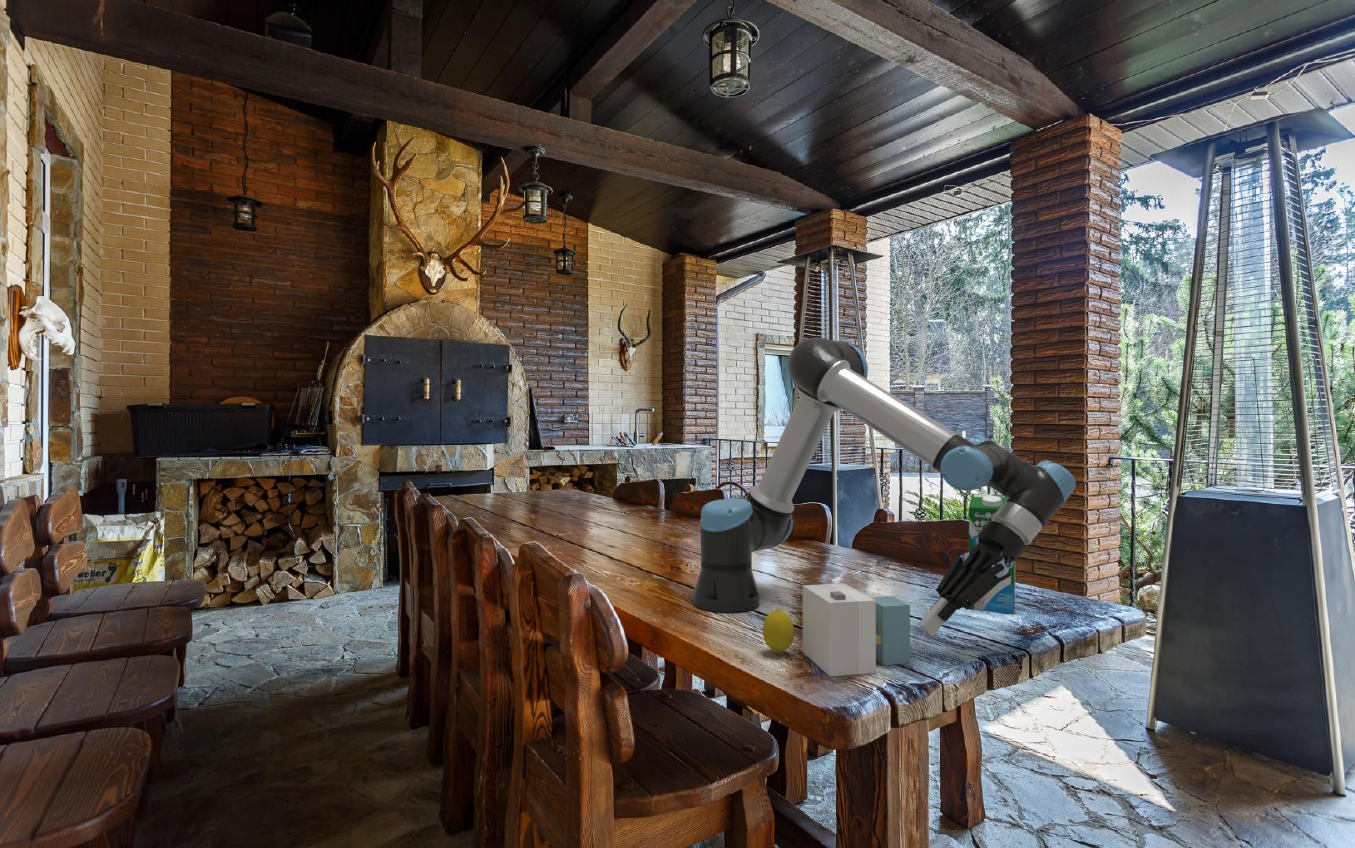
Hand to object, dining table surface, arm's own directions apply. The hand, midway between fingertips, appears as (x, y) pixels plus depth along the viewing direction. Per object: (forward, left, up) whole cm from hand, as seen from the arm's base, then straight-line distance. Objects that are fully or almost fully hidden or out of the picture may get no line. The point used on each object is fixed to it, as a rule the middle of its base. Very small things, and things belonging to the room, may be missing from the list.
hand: (925, 630), depth 119 cm
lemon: (-6, -25, -5) cm, 26 cm away
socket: (0, -16, -4) cm, 16 cm away
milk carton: (-26, +32, -5) cm, 42 cm away
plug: (0, -8, -4) cm, 9 cm away
